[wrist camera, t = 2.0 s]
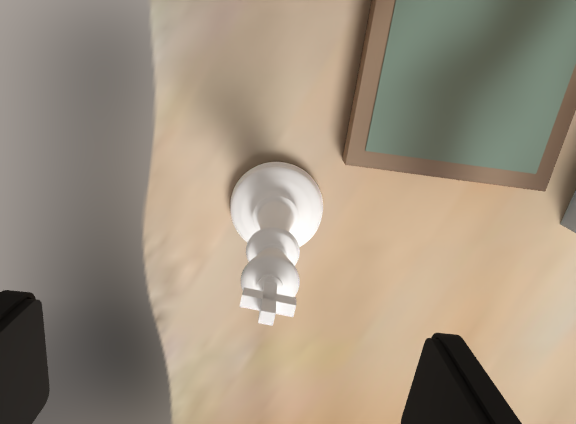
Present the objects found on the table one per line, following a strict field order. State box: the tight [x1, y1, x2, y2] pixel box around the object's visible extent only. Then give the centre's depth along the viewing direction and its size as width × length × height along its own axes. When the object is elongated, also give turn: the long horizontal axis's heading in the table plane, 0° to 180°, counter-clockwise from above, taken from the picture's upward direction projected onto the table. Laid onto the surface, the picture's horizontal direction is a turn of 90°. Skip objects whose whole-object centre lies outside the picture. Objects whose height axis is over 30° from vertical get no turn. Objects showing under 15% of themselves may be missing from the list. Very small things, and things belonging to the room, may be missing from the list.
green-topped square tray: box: [342, 0, 576, 191], centre depth 18 cm, size 10×10×1 cm
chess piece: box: [230, 162, 323, 326], centre depth 16 cm, size 5×5×10 cm
